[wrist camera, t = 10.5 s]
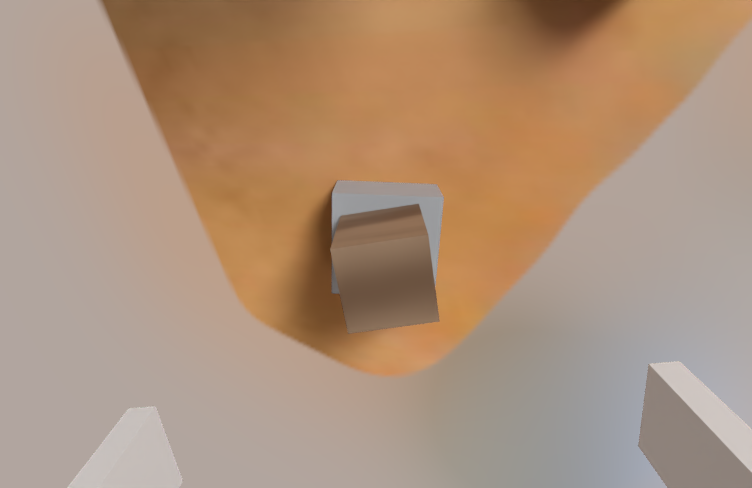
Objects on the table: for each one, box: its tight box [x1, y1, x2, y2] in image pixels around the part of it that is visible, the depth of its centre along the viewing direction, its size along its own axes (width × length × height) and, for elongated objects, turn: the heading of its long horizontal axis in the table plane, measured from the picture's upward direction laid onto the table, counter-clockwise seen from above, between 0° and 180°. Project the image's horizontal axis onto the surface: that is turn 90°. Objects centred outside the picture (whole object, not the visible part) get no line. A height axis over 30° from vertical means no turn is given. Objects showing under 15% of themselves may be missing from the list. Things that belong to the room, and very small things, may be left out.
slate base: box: [332, 180, 444, 294], centre depth 30 cm, size 7×7×4 cm
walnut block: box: [330, 204, 439, 334], centre depth 25 cm, size 5×5×6 cm
